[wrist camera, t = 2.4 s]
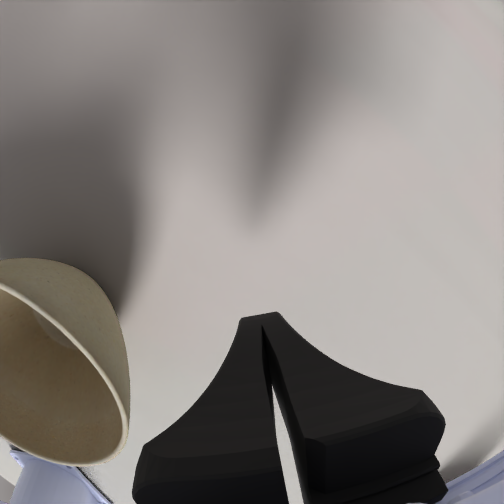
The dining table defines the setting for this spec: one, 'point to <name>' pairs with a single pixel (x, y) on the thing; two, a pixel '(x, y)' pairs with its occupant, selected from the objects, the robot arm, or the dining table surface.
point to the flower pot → (61, 365)
